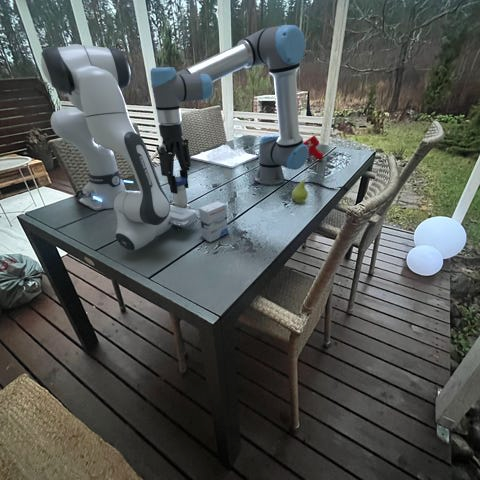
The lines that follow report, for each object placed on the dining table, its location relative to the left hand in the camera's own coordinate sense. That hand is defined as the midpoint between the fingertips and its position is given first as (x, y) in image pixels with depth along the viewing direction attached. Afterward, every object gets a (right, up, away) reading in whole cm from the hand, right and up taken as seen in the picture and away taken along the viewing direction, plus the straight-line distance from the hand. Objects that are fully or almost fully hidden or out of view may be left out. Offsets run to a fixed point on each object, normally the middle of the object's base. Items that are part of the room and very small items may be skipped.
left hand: (182, 205), depth 105 cm
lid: (0, +8, -6) cm, 11 cm away
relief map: (+12, +41, +75) cm, 86 cm away
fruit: (+49, +3, +16) cm, 52 cm away
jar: (0, -6, +3) cm, 6 cm away
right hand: (0, +5, -4) cm, 7 cm away
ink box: (+13, -12, -7) cm, 19 cm away
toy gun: (+65, +38, +70) cm, 103 cm away
